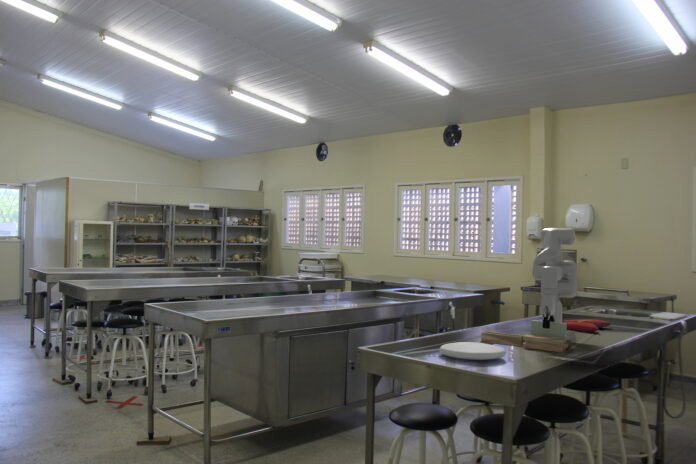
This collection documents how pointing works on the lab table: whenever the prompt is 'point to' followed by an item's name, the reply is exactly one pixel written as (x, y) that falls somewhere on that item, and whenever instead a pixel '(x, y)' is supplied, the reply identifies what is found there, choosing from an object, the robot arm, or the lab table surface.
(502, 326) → the lab table surface
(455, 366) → the lab table surface
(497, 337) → the cradle
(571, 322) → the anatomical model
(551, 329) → the tall sheet
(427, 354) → the lab table surface
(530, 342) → the rack
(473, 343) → the plate
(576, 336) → the lab table surface
